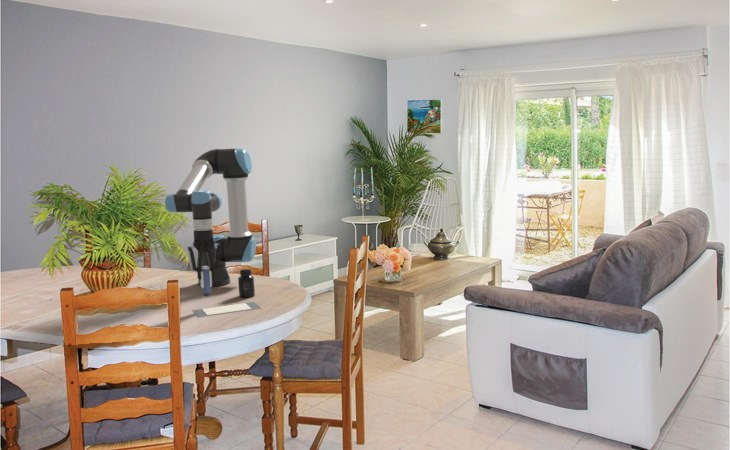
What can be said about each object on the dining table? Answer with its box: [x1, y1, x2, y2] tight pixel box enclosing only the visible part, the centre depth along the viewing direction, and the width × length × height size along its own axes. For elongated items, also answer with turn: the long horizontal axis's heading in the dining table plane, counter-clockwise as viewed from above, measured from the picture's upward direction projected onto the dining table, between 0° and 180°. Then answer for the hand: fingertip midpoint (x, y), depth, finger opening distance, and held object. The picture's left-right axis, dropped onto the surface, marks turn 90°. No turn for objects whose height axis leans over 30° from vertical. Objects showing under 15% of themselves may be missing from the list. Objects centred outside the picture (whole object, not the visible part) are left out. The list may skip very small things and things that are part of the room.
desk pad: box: [191, 301, 262, 319], centre depth 259 cm, size 12×26×1 cm, turn 115°
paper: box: [201, 302, 251, 316], centre depth 259 cm, size 10×18×1 cm, turn 115°
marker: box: [201, 266, 212, 297], centre depth 256 cm, size 3×3×12 cm
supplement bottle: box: [237, 268, 256, 299], centre depth 279 cm, size 7×7×12 cm
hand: (206, 286), depth 257 cm, fingers closed on marker, 3 cm apart
